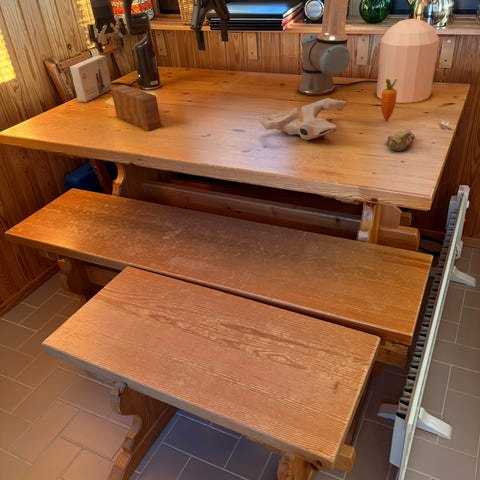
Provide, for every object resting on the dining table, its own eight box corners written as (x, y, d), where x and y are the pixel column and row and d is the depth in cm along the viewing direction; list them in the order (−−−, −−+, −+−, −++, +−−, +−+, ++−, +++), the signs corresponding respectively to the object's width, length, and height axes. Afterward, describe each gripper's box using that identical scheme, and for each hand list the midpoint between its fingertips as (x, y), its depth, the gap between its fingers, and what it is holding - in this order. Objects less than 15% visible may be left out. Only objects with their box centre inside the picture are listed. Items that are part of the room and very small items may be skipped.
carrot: (394, 118, 167) (398, 76, 158) (393, 123, 163) (397, 80, 154) (379, 117, 168) (383, 75, 160) (378, 122, 165) (382, 80, 156)
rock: (408, 140, 153) (379, 139, 152) (414, 122, 149) (384, 120, 148) (421, 154, 144) (391, 153, 143) (428, 135, 140) (396, 133, 139)
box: (117, 117, 194) (110, 88, 187) (129, 113, 197) (122, 84, 190) (148, 130, 177) (142, 99, 171) (161, 126, 180) (155, 95, 174)
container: (400, 106, 176) (410, 27, 160) (365, 93, 192) (370, 19, 176) (442, 95, 182) (455, 17, 167) (404, 83, 199) (413, 11, 183)
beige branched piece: (257, 147, 155) (255, 112, 149) (269, 121, 176) (267, 89, 170) (343, 147, 149) (345, 111, 143) (345, 120, 170) (346, 87, 164)
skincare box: (87, 102, 214) (77, 67, 204) (78, 102, 215) (68, 66, 206) (113, 88, 229) (105, 54, 220) (104, 88, 231) (96, 54, 222)
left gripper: (113, 0, 175) (123, 45, 184) (78, 6, 168) (90, 53, 177) (123, 1, 170) (132, 47, 179) (87, 7, 163) (99, 55, 172)
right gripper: (191, -16, 146) (199, 54, 158) (237, -27, 162) (242, 38, 174) (173, -16, 150) (183, 53, 162) (220, -26, 166) (226, 37, 178)
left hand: (111, 50), depth 178 cm, fingers open, 8 cm apart
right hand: (213, 45), depth 168 cm, fingers open, 13 cm apart
